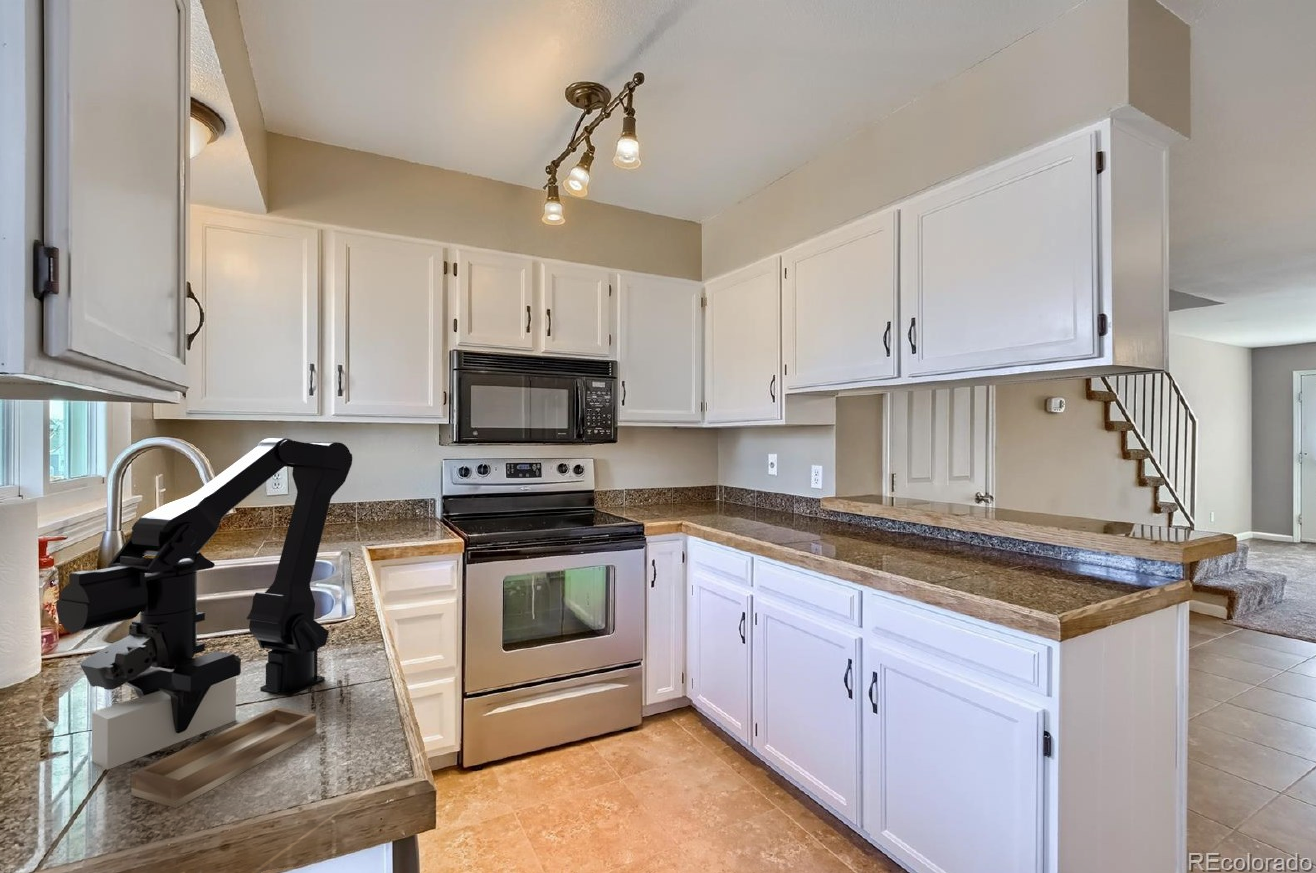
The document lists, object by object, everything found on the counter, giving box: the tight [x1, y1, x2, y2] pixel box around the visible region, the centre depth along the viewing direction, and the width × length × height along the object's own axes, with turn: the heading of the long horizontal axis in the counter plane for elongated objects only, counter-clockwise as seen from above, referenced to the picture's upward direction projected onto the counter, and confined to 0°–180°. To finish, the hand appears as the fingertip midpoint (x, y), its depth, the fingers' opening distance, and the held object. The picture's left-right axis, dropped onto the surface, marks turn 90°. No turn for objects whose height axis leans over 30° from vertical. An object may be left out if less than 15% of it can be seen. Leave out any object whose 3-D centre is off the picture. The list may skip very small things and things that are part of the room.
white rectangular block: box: [91, 676, 237, 771], centre depth 78 cm, size 14×4×6 cm, turn 153°
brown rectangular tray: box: [130, 706, 317, 809], centre depth 73 cm, size 17×7×2 cm, turn 161°
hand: (168, 729), depth 78 cm, fingers closed on white rectangular block, 4 cm apart
